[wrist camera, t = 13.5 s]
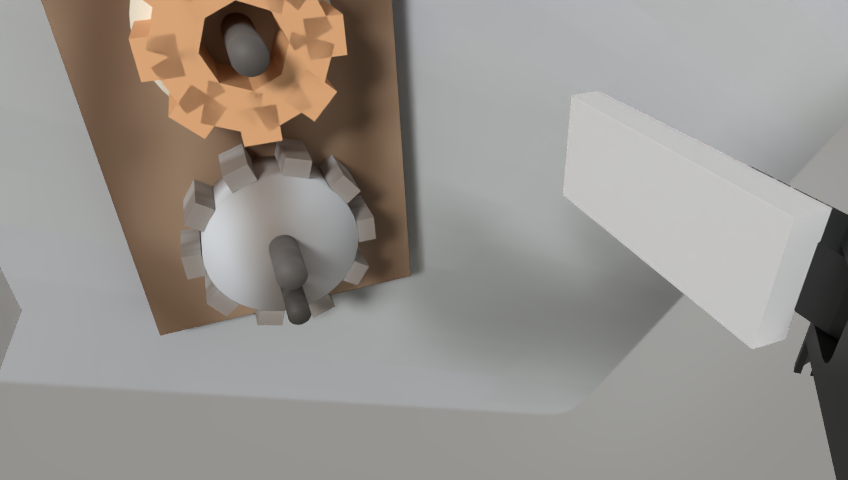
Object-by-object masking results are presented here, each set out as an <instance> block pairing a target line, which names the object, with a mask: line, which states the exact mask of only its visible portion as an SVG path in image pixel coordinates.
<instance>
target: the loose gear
mask: <svg viewBox="0 0 848 480" xmlns="http://www.w3.org/2000/svg"><path fill="white" fill-rule="evenodd" d="M143 1H144V2H146V3H147V4H149V5H150V6H151V7H152V14H151V19H148V20H138V21H134V22H133V26H132V29H131V32H130V36H129V42H130V46H131V49H132V53H133V56H134V59H135V63H136V66H137V70H138V73H139V76H140V80H141V82H147V81H155V80H161V82H162V83H163V84H164V86H165V87H166V88H167V90H168V91H169V113H168V117H169V118H171V119H173V120H174V121H176V122H178V123H179V124H181V125H183V126H184V127H186V128H187V129H189V130H191V131H192V132H194V133H196V134H197V135H199V136H201V137H202V138H204V139H205V138H206V137H207V136H208V134H209V133H210V131H211V130H212V129H213V127H214V126H216V127H221V128H226V129H231V130H236V131H240V132H241V136H242V140H243V143H244V147H247V146H253V145H259V144H265V143H271V142H277V141H283V140H282V134H281V128H280V125H282V124H283V123H285V122H287V121H288V120H290V119H292V118H293V117H295V116H297V115H298V114H300V113H303V114H305V115H306V116H307V117H309V118H310V119H312V120H313V121H315V120H316V119H317V118H318V116H319V115H320V114H321V112H322V111H323V110H324V108H325V107H326V106H327V105H328V103H329V102H330V101H331V99H332V98H333V97H334V95H335V94H336V93H337V91H336V90H335V88H334V87H333V86H332V84H331V83H330V82H329V81H328V79H327V78H326V75H327V72H328V68H329V64H330V60H331V57H336V56H343V55H347V47H346V38H345V29H344V20H343V14H342V13H340V12H339V11H338V10H337V9H335V8H334V7H333V6H331V5H330V4H329V3H328V2H326V1H318V0H237V1H240V2H243V3H247V4H250V5H253V6H256V7H260V8H263V9H266V10H268V11H269V12H270V14H271V16H272V17H273V19H274V21H275V22H276V24H277V28H276V32H275V36H274V41H273V45H272V50H271V54H270V55H269V56H270V61H269V65H268V67H267V69H266V70H265V71H264V72H263V73H262V74H261V75H259V76H256V77H246V76H243V75H241V74H239V73H238V72H237V71H236V70H235V69H234V68H233V67H232V66H230V65H226V64H222V63H218V62H215V61H214V60H213V58H212V57H211V56H210V54H209V53H208V51H207V50H206V48H205V47H204V45H203V44H202V42H201V36H202V31H203V25H204V20H205V18H206V17H208V16H209V15H211V14H213V13H214V12H216V11H218V10H220V9H221V8H223V7H225V6H226V5H228V4H230V3H232V2H233V1H235V0H143Z"/></svg>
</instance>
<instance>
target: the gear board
mask: <svg viewBox="0 0 848 480" xmlns="http://www.w3.org/2000/svg"><path fill="white" fill-rule="evenodd" d="M41 1H42V4H43V7H44V9H45V12H46V15H47V18H48V21H49V23H50V26H51V29H52V32H53V35H54V38H55V40H56V43H57V46H58V49H59V52H60V54H61V57H62V60H63V63H64V66H65V69H66V71H67V74H68V77H69V80H70V83H71V85H72V88H73V91H74V94H75V97H76V100H77V102H78V105H79V108H80V111H81V114H82V116H83V119H84V122H85V125H86V128H87V131H88V133H89V136H90V139H91V142H92V145H93V147H94V150H95V153H96V156H97V159H98V161H99V164H100V167H101V170H102V173H103V176H104V178H105V181H106V184H107V187H108V190H109V192H110V195H111V198H112V201H113V204H114V207H115V209H116V212H117V215H118V218H119V221H120V223H121V226H122V229H123V232H124V235H125V238H126V240H127V243H128V246H129V249H130V252H131V254H132V257H133V260H134V263H135V266H136V269H137V271H138V274H139V277H140V280H141V283H142V285H143V288H144V291H145V294H146V297H147V299H148V302H149V305H150V308H151V311H152V314H153V316H154V319H155V322H156V325H157V328H158V330H159V333H160V335H164V334H169V333H173V332H177V331H181V330H185V329H190V328H194V327H198V326H202V325H206V324H210V323H215V322H219V321H223V320H227V319H231V318H236V317H240V316H244V315H248V314H252V313H256V318H257V324H258V325H282V323H283V318H284V312H285V310H286V311H287V315H288V319H289V321H290V322H291V323H293V324H296V325H299V324H303V323H305V322H307V321H308V320H309V319H310V317H311V314H312V315H313V317H315V316H317V315H319V314H321V313H323V312H325V311H327V310H329V309H331V308H332V307H334V303H333V300H332V298H331V295H332V294H336V293H340V292H344V291H348V290H353V289H357V288H361V287H365V286H369V285H373V284H378V283H382V282H386V281H390V280H394V279H399V278H403V277H407V276H411V275H410V260H409V245H408V230H407V216H406V201H405V186H404V172H403V157H402V142H401V128H400V113H399V98H398V84H397V69H396V54H395V40H394V25H393V10H392V0H318V1H326V2H328V3H329V4H330V5H331V6H333V7H334V8H335V9H337V10H338V11H339V12H340V13H342V14H343V20H344V29H345V38H346V47H347V55H343V56H336V57H331V60H330V64H329V68H328V72H327V75H326V78H327V79H328V81H329V82H330V83H331V84H332V86H333V87H334V88H335V90H336V91H337V93H336V94H335V95H334V97H333V98H332V99H331V101H330V102H329V103H328V105H327V106H326V107H325V108H324V110H323V111H322V112H321V114H320V115H319V116H318V118H317V119H316V120H315V121H313V120H312V119H310V118H309V117H307V116H306V115H305V114H303V113H300V114H298V115H297V116H295V117H293V118H292V119H290V120H288V121H287V122H285V123H283V124H282V125H280V128H281V134H282V140H283V141H277V142H271V143H265V144H259V145H253V146H247V147H244V143H243V140H242V136H241V132H240V131H236V130H231V129H226V128H221V127H216V126H214V127H213V129H212V130H211V131H210V133H209V134H208V136H207V137H206V138H205V139H204V138H202V137H201V136H199V135H197V134H196V133H194V132H192V131H191V130H189V129H187V128H186V127H184V126H183V125H181V124H179V123H178V122H176V121H174V120H173V119H171V118H169V117H168V113H169V91H168V90H167V88H166V87H165V86H164V84H163V83H162V82H161V80H155V81H147V82H141V80H140V76H139V73H138V70H137V66H136V63H135V59H134V56H133V53H132V49H131V46H130V42H129V36H130V32H131V29H132V26H133V22H134V21H138V20H148V19H151V14H152V7H151V6H150V5H149V4H147V3H146V2H144V1H143V0H41ZM276 28H277V24H276V22H275V21H274V19H273V17H272V16H271V14H270V12H269V11H268V10H266V9H263V8H260V7H256V6H253V5H250V4H247V3H243V2H240V1H237V0H235V1H233V2H232V3H230V4H228V5H226V6H225V7H223V8H221V9H220V10H218V11H216V12H214V13H213V14H211V15H209V16H208V17H206V18H205V20H204V25H203V31H202V36H201V42H202V44H203V45H204V47H205V48H206V50H207V51H208V53H209V54H210V56H211V57H212V58H213V60H214V61H215V62H218V63H222V64H226V65H230V66H232V67H233V68H234V69H235V70H236V71H237V72H238V73H239V74H241V75H243V76H246V77H256V76H259V75H261V74H262V73H263V72H264V71H265V70H266V69H267V67H268V65H269V61H270V56H269V55H270V54H271V50H272V45H273V41H274V36H275V32H276Z"/></svg>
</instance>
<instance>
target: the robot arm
mask: <svg viewBox="0 0 848 480" xmlns="http://www.w3.org/2000/svg"><path fill="white" fill-rule="evenodd" d="M563 195H564V196H565V197H566V198H567V199H569V200H570V201H571V202H572V203H573V204H575V205H576V206H577V207H578V208H580V209H581V210H582V211H583V212H584V213H586V214H587V215H588V216H589V217H591V218H592V219H593V220H594V221H596V222H597V223H598V224H599V225H600V226H602V227H603V228H604V229H605V230H607V231H608V232H609V233H610V234H611V235H613V236H614V237H615V238H616V239H618V240H619V241H620V242H621V243H622V244H624V245H625V246H626V247H627V248H629V249H630V250H631V251H632V252H633V253H635V254H636V255H637V256H638V257H640V258H641V259H642V260H643V261H644V262H646V263H647V264H648V265H649V266H651V267H652V268H653V269H654V270H655V271H657V272H658V273H659V274H660V275H662V276H663V277H664V278H665V279H666V280H668V281H669V282H670V283H671V284H673V285H674V286H675V287H676V288H677V289H679V290H680V291H681V292H682V293H684V294H685V295H686V296H687V297H689V298H690V299H691V300H692V301H693V302H695V303H696V304H697V305H698V306H699V307H701V308H702V309H703V310H704V311H706V312H707V313H708V314H709V315H710V316H712V317H713V318H714V319H715V320H717V321H718V322H719V323H720V324H722V325H723V326H724V327H725V328H726V329H728V330H729V331H730V332H731V333H733V334H734V335H735V336H736V337H737V338H739V339H740V340H741V341H742V342H744V343H745V344H746V345H747V346H748V347H750V348H751V349H752V350H753V349H756V348H759V347H762V346H765V345H768V344H771V343H774V342H777V341H781V340H784V339H786V336H787V333H788V331H789V328H790V325H791V322H792V319H793V316H794V314H795V311H796V312H797V313H799V314H800V315H801V316H803V317H804V318H806V319H807V320H809V321H810V322H811V323H810V326H809V328H808V331H807V334H806V336H805V339H804V342H803V344H802V347H801V350H800V352H799V355H798V357H797V360H796V363H795V367H794V372H795V373H801V371H802V368H803V366H804V365H805V364H807V363H808V362H810V363H811V368H812V371H811V374H810V375H811V376H814V381H815V385H816V390H817V394H818V399H819V403H820V408H821V412H822V416H823V421H824V426H825V430H826V435H827V439H828V444H829V448H830V453H831V457H832V462H833V466H834V471H835V475H836V479H837V480H848V215H847V214H845V213H843V212H841V211H839V210H837V209H835V208H833V207H831V206H829V205H827V204H825V203H823V202H821V201H819V200H817V199H815V198H813V197H811V196H809V195H807V194H805V193H803V192H801V191H799V190H797V189H795V188H794V189H793V188H791V187H790V186H789V185H787V184H785V183H783V182H781V181H779V180H775V179H773V177H771V176H769V175H767V174H765V173H763V172H761V171H759V170H757V169H755V168H753V167H750V166H747V165H745V164H743V163H741V162H739V161H737V160H735V159H733V158H731V157H729V156H727V155H725V154H723V153H722V152H720V151H718V150H716V149H714V148H712V147H710V146H708V145H706V144H704V143H702V142H700V141H698V140H696V139H694V138H692V137H690V136H688V135H686V134H684V133H682V132H680V131H678V130H676V129H674V128H672V127H670V126H668V125H666V124H664V123H662V122H660V121H658V120H656V119H654V118H652V117H650V116H648V115H646V114H644V113H642V112H640V111H638V110H636V109H634V108H632V107H630V106H628V105H626V104H624V103H622V102H620V101H618V100H616V99H614V98H612V97H610V96H608V95H606V94H604V93H602V92H600V91H595V92H589V93H583V94H577V95H572V97H571V108H570V120H569V131H568V142H567V154H566V165H565V176H564V188H563ZM21 311H22V310H21V308H20V306H19V304H18V302H17V300H16V298H15V296H14V294H13V292H12V290H11V288H10V286H9V284H8V282H7V280H6V278H5V276H4V274H3V272H2V270H1V268H0V368H1V365H2V362H3V360H4V357H5V354H6V352H7V349H8V346H9V343H10V341H11V338H12V335H13V332H14V330H15V327H16V324H17V322H18V319H19V316H20V313H21Z"/></svg>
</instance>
